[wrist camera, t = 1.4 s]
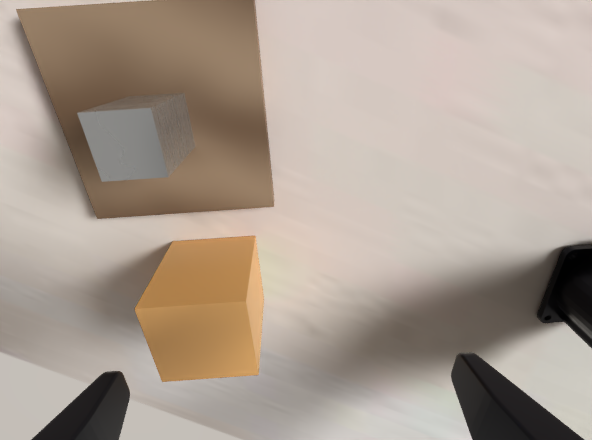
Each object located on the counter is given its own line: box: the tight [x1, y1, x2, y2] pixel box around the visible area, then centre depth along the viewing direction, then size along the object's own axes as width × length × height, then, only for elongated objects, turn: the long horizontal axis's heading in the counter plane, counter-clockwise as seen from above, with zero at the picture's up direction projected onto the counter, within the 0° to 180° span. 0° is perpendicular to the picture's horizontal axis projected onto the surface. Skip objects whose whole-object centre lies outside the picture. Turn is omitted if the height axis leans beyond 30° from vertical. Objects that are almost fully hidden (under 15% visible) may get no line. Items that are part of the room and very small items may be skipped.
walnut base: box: [16, 0, 274, 219], centre depth 17 cm, size 10×10×1 cm
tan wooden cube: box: [134, 236, 264, 382], centre depth 19 cm, size 5×5×6 cm
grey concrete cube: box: [77, 93, 195, 182], centre depth 14 cm, size 3×3×4 cm
